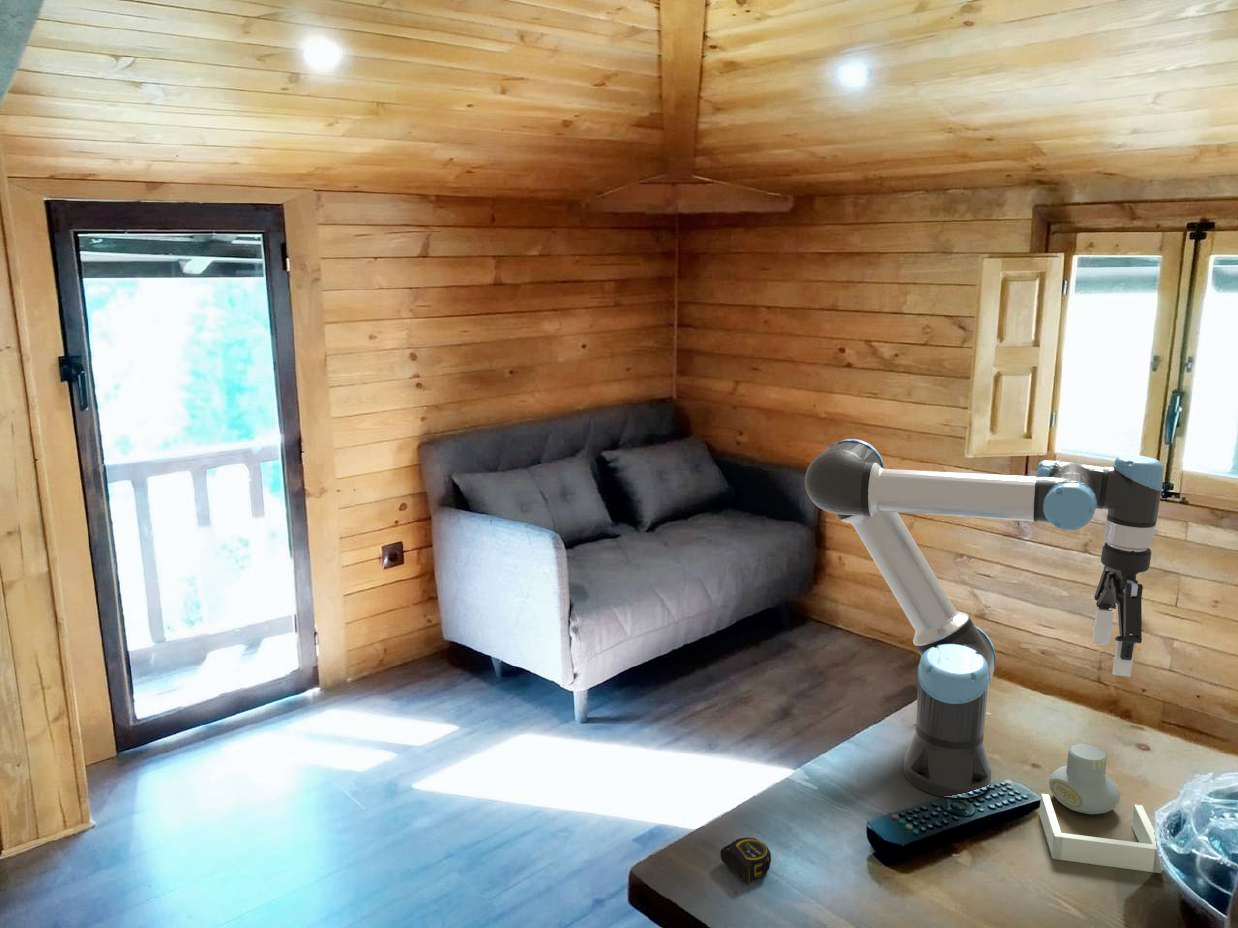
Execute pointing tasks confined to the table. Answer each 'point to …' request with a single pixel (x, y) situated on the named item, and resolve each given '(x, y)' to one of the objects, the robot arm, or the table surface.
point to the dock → (1102, 843)
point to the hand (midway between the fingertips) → (1110, 658)
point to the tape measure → (747, 858)
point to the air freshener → (1085, 781)
